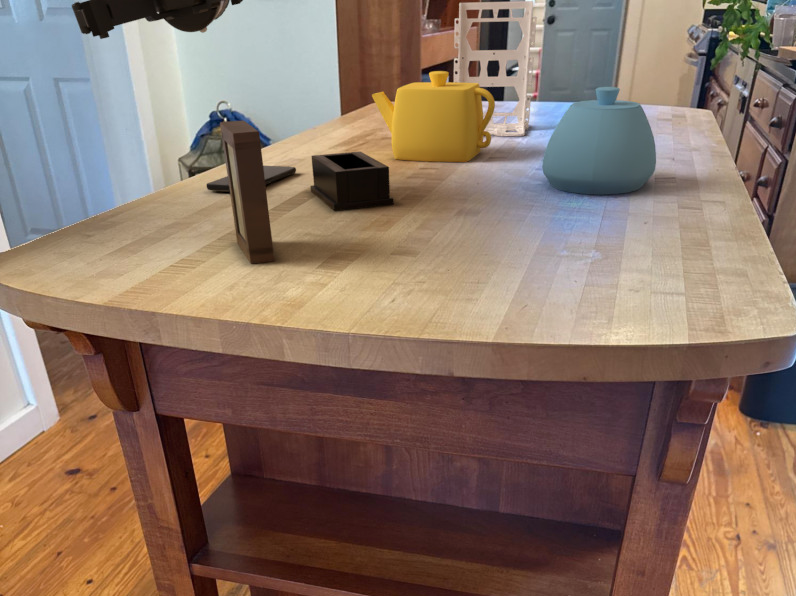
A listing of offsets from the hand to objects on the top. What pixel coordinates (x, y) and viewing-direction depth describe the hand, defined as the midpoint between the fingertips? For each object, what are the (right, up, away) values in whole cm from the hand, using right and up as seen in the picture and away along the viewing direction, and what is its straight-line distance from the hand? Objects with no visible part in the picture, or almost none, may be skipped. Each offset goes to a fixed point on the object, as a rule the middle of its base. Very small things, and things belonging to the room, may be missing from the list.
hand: (160, 3), depth 70 cm
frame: (+7, -19, +10) cm, 23 cm away
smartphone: (+1, +2, +39) cm, 39 cm away
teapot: (+28, +13, +54) cm, 62 cm away
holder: (+16, -5, +30) cm, 34 cm away
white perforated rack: (+40, +27, +72) cm, 87 cm away
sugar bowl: (+50, -2, +33) cm, 60 cm away
